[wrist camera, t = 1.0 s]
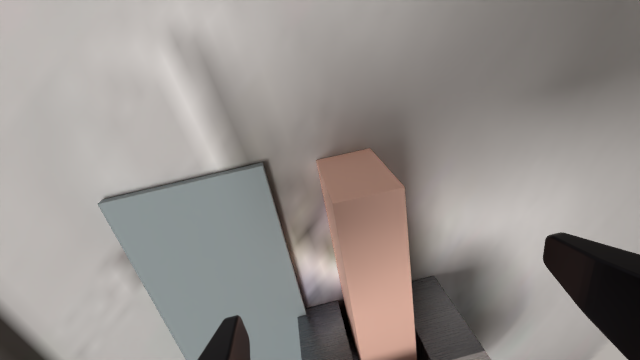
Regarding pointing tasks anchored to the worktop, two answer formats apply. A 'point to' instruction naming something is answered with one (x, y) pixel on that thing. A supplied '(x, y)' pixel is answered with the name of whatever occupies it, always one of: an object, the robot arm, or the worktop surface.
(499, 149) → the worktop surface
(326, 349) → the dispenser
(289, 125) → the worktop surface
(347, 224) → the salmon pink rectangular block
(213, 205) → the mat
